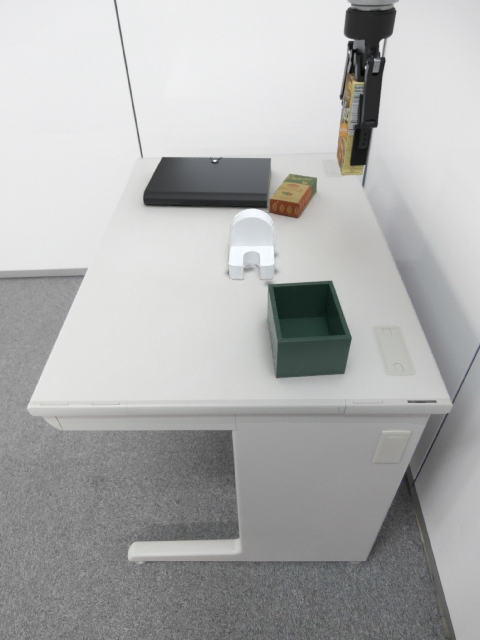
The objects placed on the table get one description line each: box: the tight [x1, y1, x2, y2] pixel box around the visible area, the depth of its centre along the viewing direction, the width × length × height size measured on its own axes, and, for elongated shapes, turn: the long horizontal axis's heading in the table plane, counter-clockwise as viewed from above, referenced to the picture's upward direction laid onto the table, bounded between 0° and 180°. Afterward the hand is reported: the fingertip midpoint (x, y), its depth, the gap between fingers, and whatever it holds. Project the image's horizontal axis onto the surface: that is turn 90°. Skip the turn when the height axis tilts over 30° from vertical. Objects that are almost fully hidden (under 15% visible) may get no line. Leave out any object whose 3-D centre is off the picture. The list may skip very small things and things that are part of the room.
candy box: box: [336, 70, 369, 176], centre depth 78 cm, size 9×4×15 cm, turn 177°
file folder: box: [142, 156, 272, 208], centre depth 125 cm, size 33×4×24 cm
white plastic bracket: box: [228, 208, 275, 280], centre depth 97 cm, size 10×18×11 cm, turn 178°
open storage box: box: [266, 280, 353, 379], centre depth 76 cm, size 15×12×9 cm
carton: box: [268, 173, 318, 218], centre depth 117 cm, size 8×16×4 cm, turn 156°
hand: (351, 153), depth 82 cm, fingers closed on candy box, 9 cm apart
